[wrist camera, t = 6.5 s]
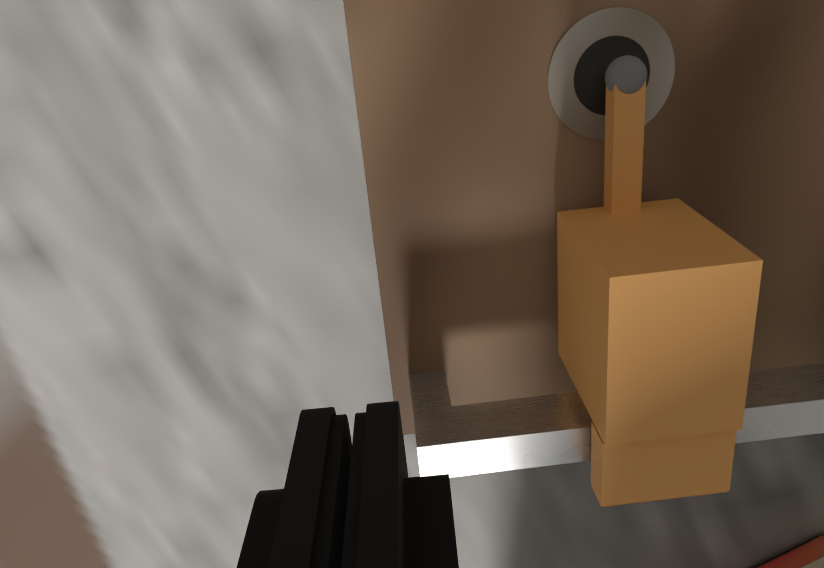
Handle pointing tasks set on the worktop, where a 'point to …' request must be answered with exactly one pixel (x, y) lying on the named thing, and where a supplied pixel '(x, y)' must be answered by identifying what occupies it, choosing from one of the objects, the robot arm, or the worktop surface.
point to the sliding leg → (653, 323)
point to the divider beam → (580, 422)
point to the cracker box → (801, 556)
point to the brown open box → (576, 166)
